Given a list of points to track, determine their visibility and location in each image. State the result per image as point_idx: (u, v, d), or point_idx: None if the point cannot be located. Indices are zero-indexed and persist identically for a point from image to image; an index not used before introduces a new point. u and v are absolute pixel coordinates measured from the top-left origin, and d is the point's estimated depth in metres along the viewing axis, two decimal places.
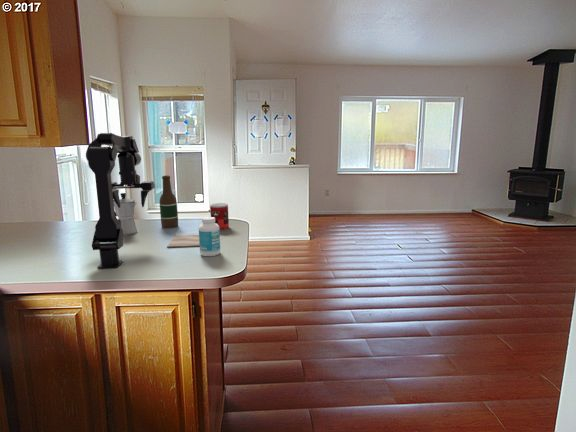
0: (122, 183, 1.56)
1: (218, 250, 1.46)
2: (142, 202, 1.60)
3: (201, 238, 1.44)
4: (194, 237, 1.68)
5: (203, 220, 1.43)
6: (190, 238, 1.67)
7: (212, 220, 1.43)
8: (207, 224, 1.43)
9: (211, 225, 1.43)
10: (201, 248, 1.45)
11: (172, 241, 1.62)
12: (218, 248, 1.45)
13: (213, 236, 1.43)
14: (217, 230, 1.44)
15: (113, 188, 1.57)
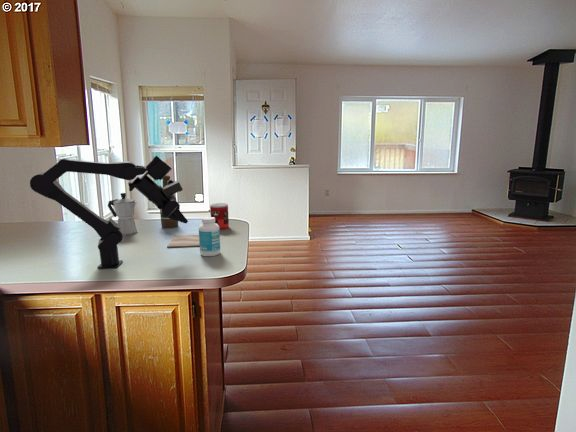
0: None
1: (218, 250, 1.46)
2: (180, 221, 1.38)
3: (201, 238, 1.44)
4: (194, 237, 1.68)
5: (203, 220, 1.43)
6: (190, 238, 1.67)
7: (212, 220, 1.43)
8: (207, 224, 1.43)
9: (211, 225, 1.43)
10: (201, 248, 1.45)
11: (172, 241, 1.62)
12: (218, 248, 1.45)
13: (213, 236, 1.43)
14: (217, 230, 1.44)
15: None
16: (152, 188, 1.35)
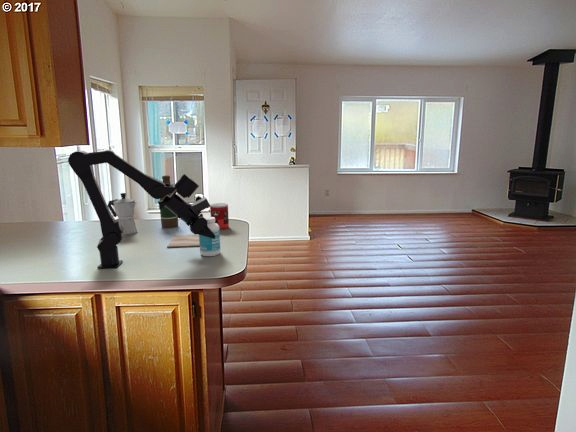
0: None
1: (218, 250, 1.46)
2: None
3: (201, 238, 1.44)
4: (194, 237, 1.68)
5: None
6: (190, 238, 1.67)
7: (212, 220, 1.43)
8: (207, 224, 1.43)
9: (211, 225, 1.43)
10: (201, 248, 1.45)
11: (172, 241, 1.62)
12: (218, 248, 1.45)
13: None
14: (217, 230, 1.44)
15: None
16: (181, 206, 1.38)
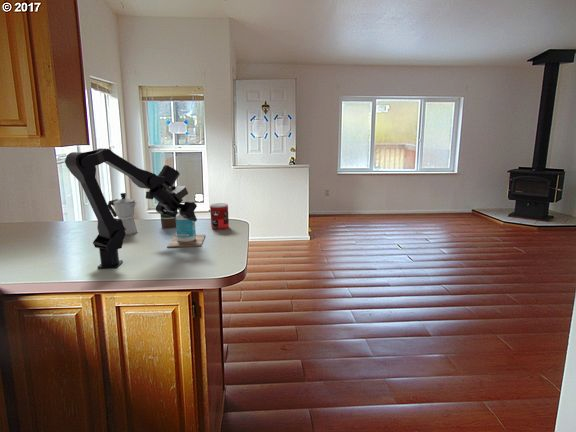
0: (166, 210, 1.56)
1: (195, 235, 1.64)
2: (192, 220, 1.59)
3: (182, 226, 1.59)
4: None
5: None
6: None
7: None
8: None
9: None
10: (182, 235, 1.60)
11: (172, 241, 1.62)
12: (195, 233, 1.64)
13: (193, 223, 1.61)
14: None
15: (164, 210, 1.60)
16: (169, 194, 1.51)
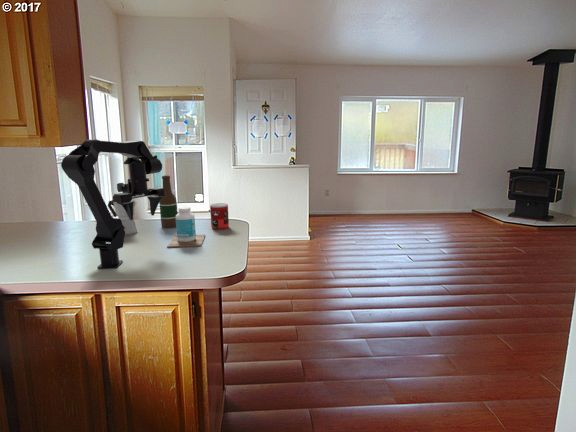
0: (140, 192, 1.44)
1: (195, 235, 1.64)
2: (154, 210, 1.52)
3: (182, 226, 1.59)
4: None
5: (182, 210, 1.59)
6: None
7: (190, 209, 1.61)
8: (186, 213, 1.60)
9: (190, 213, 1.61)
10: (182, 235, 1.60)
11: (172, 241, 1.62)
12: (195, 233, 1.64)
13: (193, 223, 1.61)
14: (194, 217, 1.63)
15: None
16: (145, 174, 1.46)
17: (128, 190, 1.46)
